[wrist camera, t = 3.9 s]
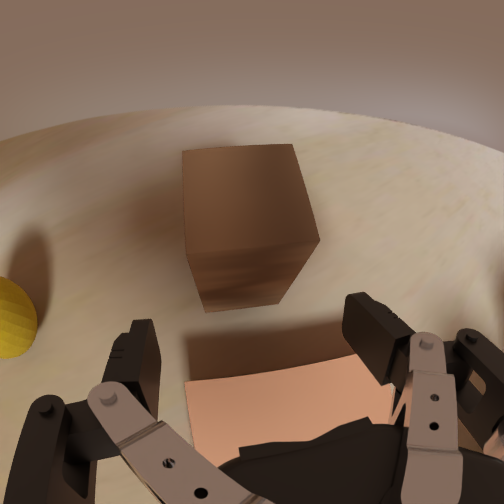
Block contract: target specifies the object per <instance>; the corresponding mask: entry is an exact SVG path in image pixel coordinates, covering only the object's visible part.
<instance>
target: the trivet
mask: <svg viewBox="0 0 504 504" xmlns="http://www.w3.org/2000/svg"><path fill="white" fill-rule="evenodd" d="M184 383H185V390H186V397H187V404H188V411H189V417H190V423H191V429H192V435H193V441H194V446H195V450H196V451H198V452H199V453H200V454H201V455H202V456H203V457H205V458H206V459H207V460H208V461H209V462H211V463H212V464H213V465H214V466H216V467H218V466H220V465H222V464H223V463H225V462H227V461H229V460H231V459H233V458H236V457H239V449H238V447H243V446H250V445H256V444H262V443H268V442H292V441H310V440H313V439H315V438H317V437H319V436H321V435H323V434H325V433H326V432H328V431H330V430H332V429H334V428H336V427H337V426H339V425H342V424H346V423H349V422H352V421H355V420H358V419H361V418H364V417H367V416H368V417H369V419H370V420H371V422H372V424H388V419H389V414H390V408H391V402H392V395H391V388H390V383H389V384H387V385H384V386H381V385H380V384H379V383H378V381H377V380H376V379H375V377H374V376H373V375H372V374H371V372H370V371H369V370H368V368H367V367H366V366H365V364H364V363H363V362H362V360H361V359H360V358H359V356H358V355H357V354H352V355H348V356H344V357H340V358H335V359H331V360H326V361H322V362H317V363H312V364H307V365H302V366H297V367H292V368H286V369H280V370H274V371H268V372H262V373H255V374H248V375H241V376H233V377H224V378H215V379H205V380H194V381H186V382H184Z"/></svg>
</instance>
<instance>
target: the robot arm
mask: <svg viewBox="0 0 504 504" xmlns="http://www.w3.org/2000/svg"><path fill="white" fill-rule="evenodd" d="M342 332H343V336H344V338H345V339H346V341H347V342H348V343H349V345H350V346H351V347H352V349H353V350H354V351H355V352H356V354H357V355H358V356H359V358H360V359H361V360H362V362H363V363H364V364H365V366H366V367H367V368H368V370H369V371H370V372H371V374H372V375H373V376H374V377H375V379H376V380H377V381H378V383H379V384H380V385H381V386H384V385H387V384H389V383H393V385H394V386H395V387H394V390H393V395H392V402H391V408H390V414H389V419H388V424H372V422H371V420H370V419H369V417H368V416H367V417H364V418H361V419H358V420H355V421H352V422H349V423H346V424H342V425H339V426H337V427H336V428H334V429H332V430H330V431H328V432H326V433H325V434H323V435H321V436H319V437H317V438H315V439H313V440H310V441H292V442H268V443H262V444H256V445H250V446H243V447H238V449H239V457H236V458H233V459H231V460H229V461H227V462H225V463H223V464H222V465H220V466H218V467H216V466H214V465H213V464H212V463H211V462H209V461H208V460H207V459H206V458H205V457H203V456H202V455H201V454H200V453H199V452H198V451H196V450H195V449H194V448H193V447H192V446H191V445H190V444H188V443H187V442H186V441H185V440H184V439H183V438H182V437H181V436H180V435H179V434H177V433H176V432H175V431H174V430H173V429H172V428H171V427H170V426H169V425H168V424H167V423H166V422H164V421H159V422H157V419H158V401H159V387H160V374H161V354H160V349H159V345H158V341H157V337H156V333H155V329H154V324H153V321H152V319H141V320H133V321H132V324H131V328H130V331H129V333H121V334H120V336H119V337H118V338H117V339H116V340H115V341H114V343H113V346H112V349H111V351H112V352H111V353H110V356H109V359H108V362H107V365H106V368H105V372H104V375H103V378H102V382H101V384H99V385H97V386H95V387H94V388H93V389H92V390H91V391H90V392H89V394H88V398H87V399H86V400H84V401H80V402H75V403H71V404H66V405H65V403H64V402H63V400H62V399H61V398H60V397H58V396H56V395H44V396H41V397H39V398H38V399H36V400H35V401H34V402H33V403H32V405H31V406H30V408H29V411H28V414H27V417H26V420H25V423H24V426H23V429H22V432H21V435H20V438H19V441H18V444H17V448H16V451H15V455H14V458H13V462H12V466H11V470H10V474H9V478H8V483H7V487H6V492H5V497H4V502H3V504H95V484H96V470H97V460H101V459H105V458H110V457H114V456H118V455H120V456H121V458H122V459H123V460H124V461H125V463H126V464H127V465H128V467H129V468H130V469H131V470H132V472H133V473H134V474H135V475H136V476H137V478H138V479H139V480H140V481H141V482H142V483H143V485H144V486H145V487H146V488H147V489H148V490H149V491H150V493H151V494H152V495H153V496H154V497H155V498H156V499H157V501H158V502H159V503H160V504H504V353H503V352H502V351H501V350H500V349H498V348H497V347H496V346H495V345H494V344H493V343H492V342H490V341H489V340H488V339H487V338H486V337H485V336H484V335H482V334H481V333H480V332H478V331H476V330H474V329H469V328H465V329H461V330H459V331H458V333H457V336H456V339H455V341H447V342H442V340H441V339H440V338H439V337H438V336H436V335H434V334H432V333H428V332H418V333H416V332H415V331H413V330H412V329H411V328H410V327H409V326H408V325H407V324H406V323H405V322H404V321H402V320H401V319H400V318H398V316H397V315H396V314H395V313H392V311H391V310H390V309H389V308H388V307H387V306H386V305H384V304H382V303H380V302H377V301H374V300H373V299H372V298H371V297H370V296H369V295H368V294H366V293H365V292H359V293H353V294H348V295H347V296H346V299H345V307H344V314H343V322H342ZM473 370H474V371H475V372H476V373H477V374H478V375H479V376H480V377H481V378H482V379H483V380H484V381H485V384H486V391H485V394H484V395H482V394H481V393H480V392H479V391H478V390H477V389H476V388H475V387H474V385H473V384H472V383H471V382H470V381H469V378H470V376H471V374H472V371H473ZM457 416H458V418H459V419H460V420H461V421H462V423H463V424H464V425H465V427H466V428H467V429H468V431H469V432H470V433H471V435H472V436H473V437H474V439H475V440H476V441H477V443H478V444H479V445H480V447H481V448H482V450H483V452H484V454H482V453H478V452H475V451H471V450H468V449H465V448H462V447H458V420H457Z"/></svg>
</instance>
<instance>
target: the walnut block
mask: <svg viewBox="0 0 504 504" xmlns="http://www.w3.org/2000/svg"><path fill="white" fill-rule="evenodd" d="M182 157H183V201H184V225H185V244H186V255H187V259H188V262H189V265H190V268H191V271H192V274H193V277H194V280H195V283H196V286H197V289H198V292H199V295H200V298H201V301H202V304H203V307H204V310H205V313H207V312H216V311H225V310H234V309H242V308H250V307H258V306H266V305H273V304H279V302H280V301H281V299H282V298H283V296H284V295H285V293H286V292H287V290H288V289H289V287H290V286H291V284H292V283H293V281H294V280H295V278H296V277H297V275H298V274H299V272H300V271H301V269H302V268H303V266H304V265H305V263H306V262H307V260H308V259H309V257H310V256H311V254H312V252H313V251H314V249H315V248H316V246H317V245H318V243H319V242H320V238H319V234H318V230H317V227H316V223H315V219H314V215H313V212H312V208H311V205H310V201H309V198H308V194H307V191H306V187H305V184H304V181H303V177H302V174H301V171H300V167H299V164H298V161H297V158H296V155H295V151H294V148H293V145H292V144H270V145H248V146H232V147H218V148H206V149H196V150H186V151H182Z"/></svg>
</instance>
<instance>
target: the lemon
mask: <svg viewBox="0 0 504 504" xmlns="http://www.w3.org/2000/svg"><path fill="white" fill-rule="evenodd" d="M37 326H38V324H37V315H36V310H35V307H34V305H33V303H32V301H31V299H30V298H29V296H28V295H27V294H26V293H25V292H24V290H23V289H22V288H21V287H19V286H18V285H17V284H15V283H14V282H12V281H11V280H9V279H7V278H4V277H0V358H3V359H8V358H14V357H18V356H20V355H22V354H23V353H25V352H26V351H27V350H28V349H29V348H30V347H31V345H32V343H33V342H34V340H35V337H36V333H37Z"/></svg>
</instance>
